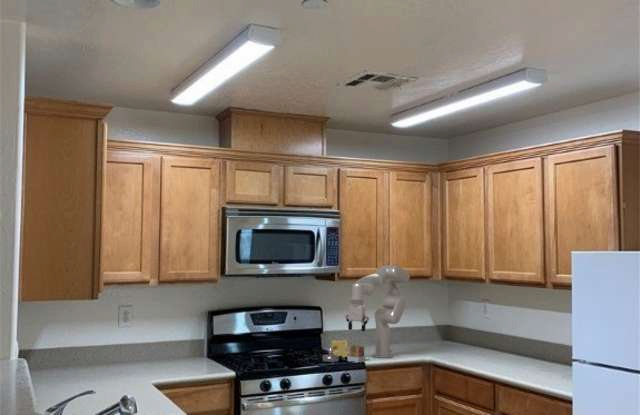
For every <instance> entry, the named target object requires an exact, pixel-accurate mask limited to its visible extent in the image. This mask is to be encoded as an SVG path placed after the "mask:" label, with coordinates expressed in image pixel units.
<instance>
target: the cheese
mask: <svg viewBox="0 0 640 415" xmlns="http://www.w3.org/2000/svg"><path fill="white" fill-rule="evenodd" d="M330 347H332V348H333V355H338V356H342V357H341V358H345V357H347V358H348V356H349V346H348V339H347V340H346V339H342V340H339V339H338V340H334V339H333V340H332V341H331V346H330Z"/></svg>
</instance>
